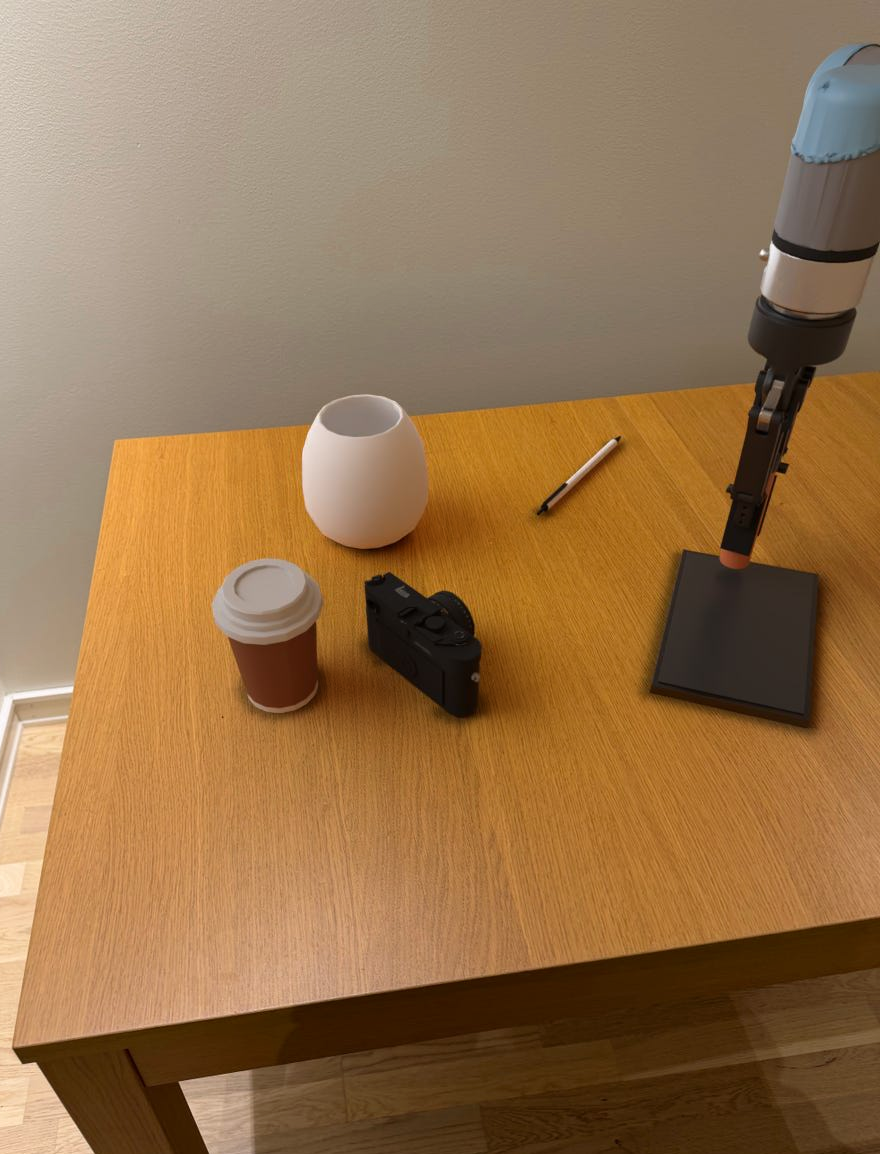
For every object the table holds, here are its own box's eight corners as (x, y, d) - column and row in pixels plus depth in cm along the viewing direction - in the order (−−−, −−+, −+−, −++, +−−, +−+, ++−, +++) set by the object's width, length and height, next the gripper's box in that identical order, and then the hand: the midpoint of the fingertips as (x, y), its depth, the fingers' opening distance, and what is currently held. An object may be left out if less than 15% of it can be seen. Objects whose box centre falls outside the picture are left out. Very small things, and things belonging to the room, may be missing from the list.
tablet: (681, 556, 94) (683, 548, 93) (816, 581, 90) (819, 573, 90) (649, 692, 80) (651, 683, 80) (806, 728, 77) (810, 719, 76)
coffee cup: (348, 663, 84) (337, 560, 76) (308, 735, 78) (291, 632, 70) (259, 642, 87) (239, 540, 78) (213, 710, 81) (186, 608, 72)
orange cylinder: (756, 563, 89) (788, 456, 81) (734, 573, 88) (764, 466, 80) (734, 547, 91) (763, 442, 83) (712, 557, 90) (739, 451, 82)
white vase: (284, 521, 101) (268, 411, 91) (381, 477, 106) (375, 369, 97) (354, 581, 93) (344, 467, 84) (454, 530, 98) (455, 418, 89)
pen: (534, 515, 100) (534, 507, 99) (617, 438, 110) (618, 430, 110) (541, 518, 99) (542, 510, 98) (623, 440, 110) (625, 432, 109)
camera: (519, 688, 81) (525, 621, 76) (461, 730, 78) (462, 663, 72) (412, 609, 89) (410, 544, 84) (355, 645, 86) (349, 579, 80)
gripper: (783, 256, 78) (724, 488, 94) (730, 331, 68) (675, 575, 84) (877, 271, 75) (800, 508, 91) (836, 351, 65) (758, 600, 82)
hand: (740, 539), depth 88 cm, fingers closed on orange cylinder, 3 cm apart
